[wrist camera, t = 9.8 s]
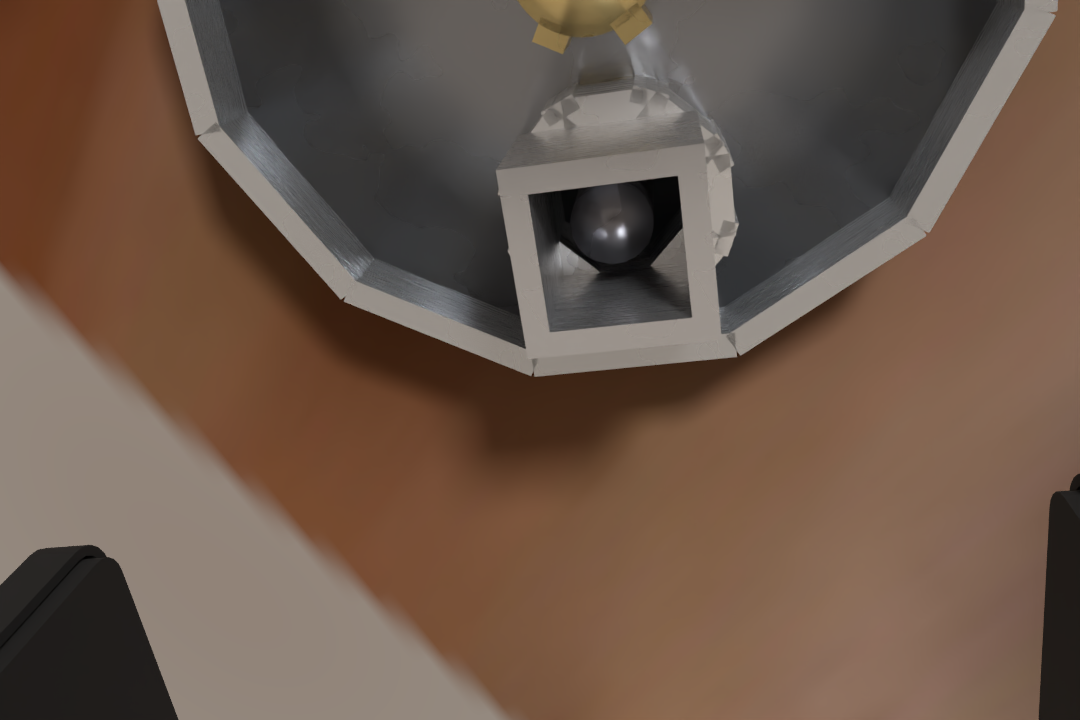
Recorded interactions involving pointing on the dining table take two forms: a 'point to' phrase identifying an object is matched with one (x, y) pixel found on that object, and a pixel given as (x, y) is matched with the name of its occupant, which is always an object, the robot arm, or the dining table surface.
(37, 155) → the dining table surface
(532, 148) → the grey hollow boxy piece
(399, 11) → the tray
